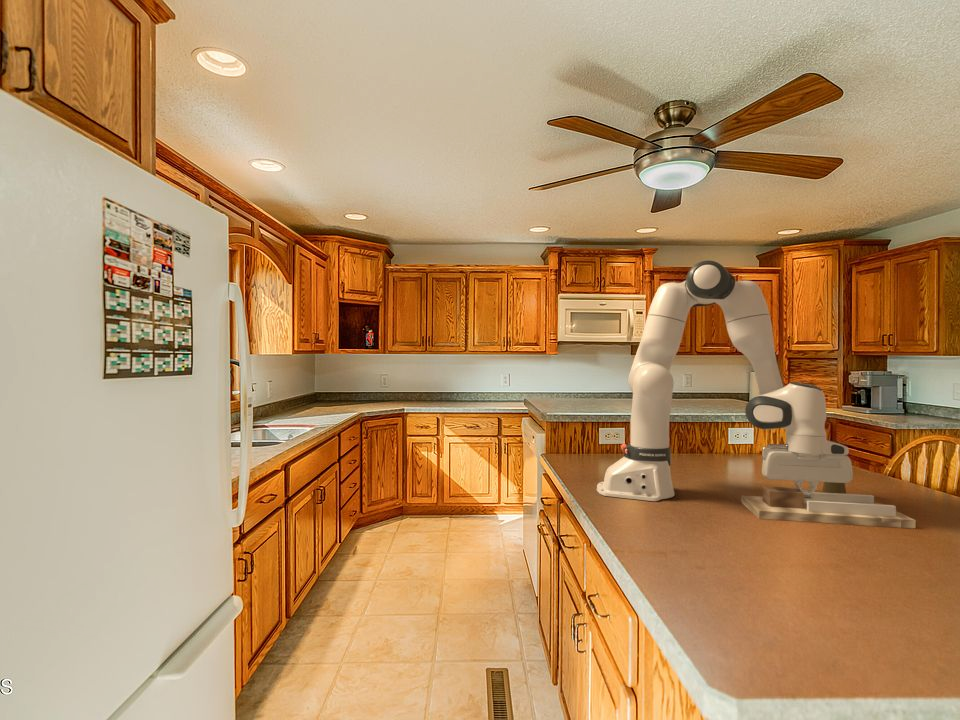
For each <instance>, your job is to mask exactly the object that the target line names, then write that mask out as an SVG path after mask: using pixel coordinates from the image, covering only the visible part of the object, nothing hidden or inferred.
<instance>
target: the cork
mask: <svg viewBox="0 0 960 720" xmlns="http://www.w3.org/2000/svg"><path fill="white" fill-rule="evenodd" d="M846 489H847V488H846V483H835V482H823V486H822V490H821V493H839V494H847V490H846Z"/></svg>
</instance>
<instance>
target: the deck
mask: <svg viewBox="0 0 960 720" xmlns="http://www.w3.org/2000/svg"><path fill="white" fill-rule="evenodd" d="M740 497H741V499H740V500H741V501H740V502H741V504H742V505H743V506H744V507H746V508H747V509H748V511H750V512H751V513H752V514H753V515H754V516H755V517H757V518H758V520H759V519H760V520H772V521H773V520H774V521H775V520H776V521H791V522H803V521H804V522H807V523H819V522H820V523H821V524H837V525H838V524H839V525H853V526H868V527H869V526H870V527H884V528H900V529H913V528H914V529H915V528H916V522H917V521H916V519H914V518H911V517H910V516H907V515H906V514H903V513H901V512H899V511H897V510H896V517H892V516H875V515H858V514H842V513H825V512H809V511H807V502H804V509H802V508H784V507H770V506H768V505H767V504H766V503H764V502H763V496H758V495H757V496H754V495H741V496H740ZM874 504H879V505H884V504H883V503H881V502H874ZM914 529H913V530H914ZM915 530H916V529H915Z"/></svg>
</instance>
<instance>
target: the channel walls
mask: <svg viewBox="0 0 960 720" xmlns="http://www.w3.org/2000/svg"><path fill="white" fill-rule="evenodd" d="M804 502H807V511H809V512H825V513H842V514H858V515H875V516H892V517H896V511H897V507H896V505H893V504H883V505H879V504H874V503H875V496H874V495H872V494H856V493H846V494H839V493H822V492H818V491H817V492H816V491H814V492H813V499H810V498H804Z"/></svg>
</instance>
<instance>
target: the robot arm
mask: <svg viewBox="0 0 960 720" xmlns="http://www.w3.org/2000/svg"><path fill="white" fill-rule="evenodd" d="M715 304H717V305H718V306H719V308H721V310H722V313H723V316H724V321H725V322H724V323H725V326H726V330H727V334H728V336H729V339H730V341H731V344H732V346H733V347H734V348H735V349H736V350H737V351H739V352H740V353H741V354H743V355H744V356H745V357H746V358H747V360H748V361H749V362H750V364H751V366H752V369H753V372H754V377H755V380H756V384H757V388H758V390H759V395H756V396H754V397H753V398H751V399H750V400H748V401H747V403H746V406H745V409H744V410H745V411H744V412H745V413H744V414H745V417H746V419H747V421H748V422H749V423H750V424H751V425H752V426H753V427H756V428H757V429H761V430H768V431H769V430H774V429H785V443H775V444H774V443H769V444H767V445H765V446H763V447H762V449H761V457H762V464H761V475H763V477H764V478H765V479H767V480H771V481H793V484H794V486H795V488H796V489H798V490H800V491H801V492H803V493H804V498H810V499H813V492H816V490H817V489H818V487H819V483H820V482H821V483H824V482H835V483H845V484H850V483H851V482H852V480H853V478H854V476H853V475H854V473H853V472H854V471H853V465H852V464H853V463H852V460H851V458H850V457H849V456H848V455H849V452H850V449H849V447H848V446H846V445H844V444H841V443H838V442H835V441H834V440H833V441H832V440H831V439H827V431H826V427H825V425H826V421H827V402H826V396H825V393H824V390H823V389H821V388H820V386H817V385H814V384H811V383H810V384H809V383H804V382H797V381H795V382H789V383H788V384H787V385H785V384H784V382H783V378H782V377H783V376H782V374H781V370H780V367H779V362H778V360H777V356H776V355H777V354H776V349H775V341H774V333H773V325H772V318H771V315H770V311H769V308H768V307H769V306H768V304H767V301H766V298H765V296H764V294H763V291H762V289H761V287H760V286H759V284H758V283H756V282H755V281H752V280H737V281H736V277H735V276H734V275H733V274H732V273H731V272H729V270H727V268H726V267H724V265H723V264H721V263H720V262H717V261H714V260H703V261H700V262H698V263H696V264H695V265H692V267H691V268H690V269H689V271H688V272H687V274H686V277H685V280H683V281H682V282H673V281H670V282H666V283H662V284H661V285H660V286H658V288H657V290H656V293H655V294H654V296H653V298H652V301H651V303H650V306H649V309H648V313H647V316H646V320H645V323H644V328H643V332H642V334H641V338H640V342H639V344H638V348H637V351H636V352H635V353H636V354H635V355H634V359H633V362H632V365H631V368H630V371H629V374H628V379H627V380H628V381H627V383H628V388H629V389H630V391H631V392H632V401H631V402H632V403H631V405H632V406H631V414H630V420H629V421H630V423H629V424H630V426H629V427H630V428H629V429H630V433H629V434H630V438H629V440H630V443H629V444H628V445H627V444H626V443H622V444H621V446H620V448H621V451H622V453H623V457H621V458H620V459H619V460H617V461H616V462H614V463H613V464H611V465H610V466H608V467H607V469H606V470H605V474H604V478H603V481H600V482H598V483H597V485H596V491H597V492H598V494H599V495H602V496H604V497H605V496H606V497H612V498H621V499H622V498H623V499H628V500H629V499H631V500H639V501H650V502H659V501H660V500H665V499H669V498H673V497H674V496H675V495H676V493H675V490H674V486H673V482H672V481H673V480H672V476H671V463H672V451H671V447H670V416H671V412H672V410H671V409H672V403H673V402H672V401H673V390H674V384H675V383H674V377H673V375H672V373H671V372H670V369H671V367H672V365H673V362H674V359H675V357H676V355H677V353H678V351H679V349H680V346H681V342H682V339H683V335H684V331H685V326H686V323H687V319H688V315H689V313H690V310H691V308H695V307H707V306H711V305H715ZM804 482H808V484H809V486H808V488H807V489H803V487H802V486H803V485H804Z"/></svg>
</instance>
